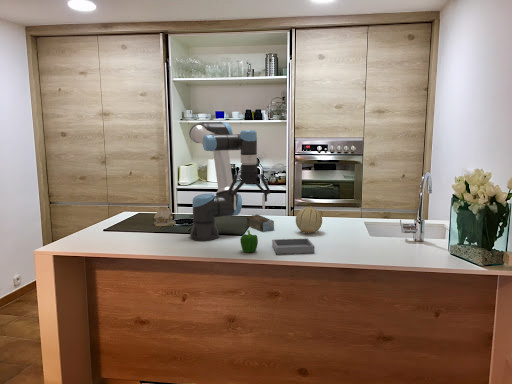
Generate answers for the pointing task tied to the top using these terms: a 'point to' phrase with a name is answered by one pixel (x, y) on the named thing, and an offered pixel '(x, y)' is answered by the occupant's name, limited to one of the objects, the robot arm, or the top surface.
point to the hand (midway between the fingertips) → (249, 208)
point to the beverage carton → (260, 223)
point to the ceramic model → (164, 218)
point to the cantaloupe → (309, 220)
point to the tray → (292, 246)
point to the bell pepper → (249, 242)
